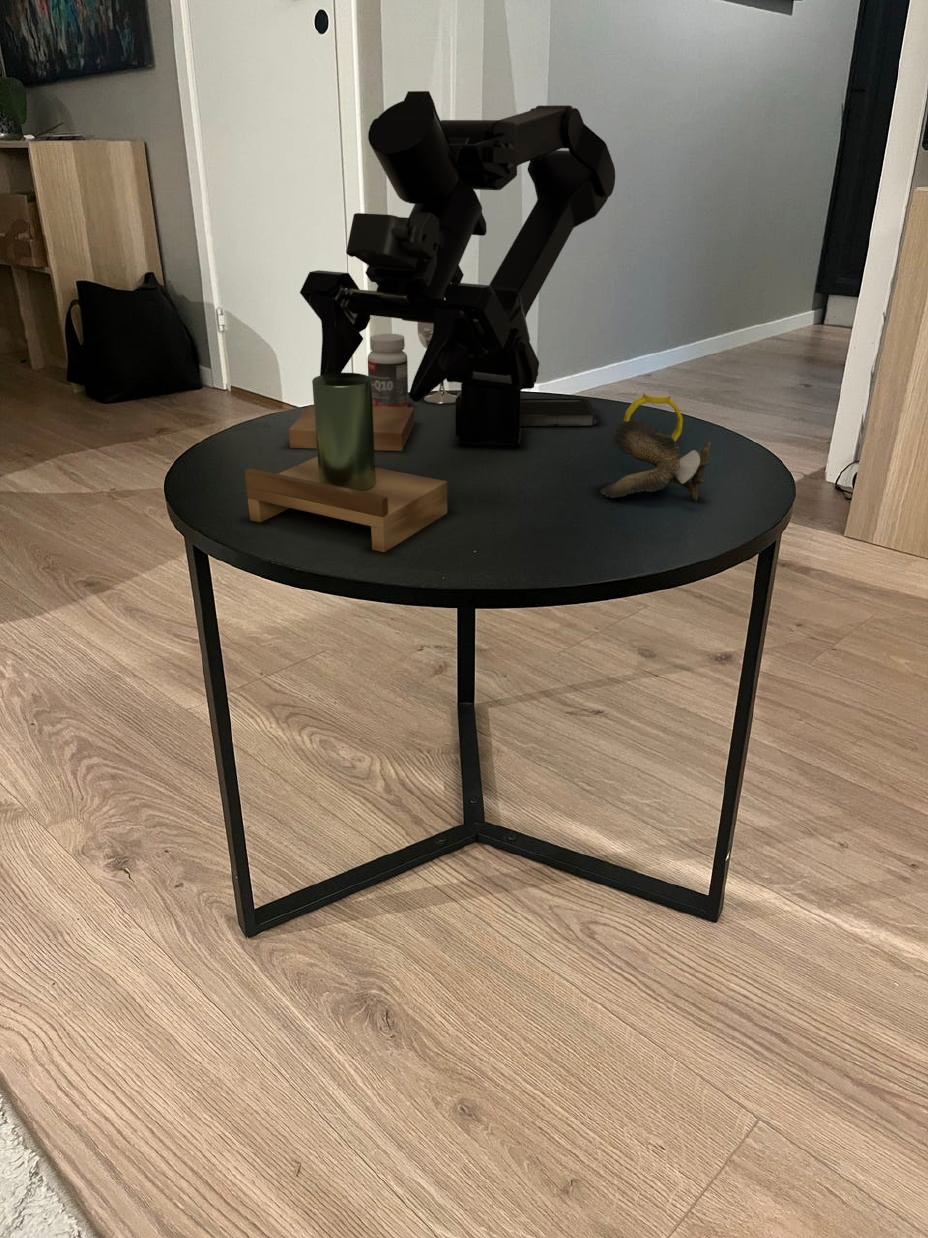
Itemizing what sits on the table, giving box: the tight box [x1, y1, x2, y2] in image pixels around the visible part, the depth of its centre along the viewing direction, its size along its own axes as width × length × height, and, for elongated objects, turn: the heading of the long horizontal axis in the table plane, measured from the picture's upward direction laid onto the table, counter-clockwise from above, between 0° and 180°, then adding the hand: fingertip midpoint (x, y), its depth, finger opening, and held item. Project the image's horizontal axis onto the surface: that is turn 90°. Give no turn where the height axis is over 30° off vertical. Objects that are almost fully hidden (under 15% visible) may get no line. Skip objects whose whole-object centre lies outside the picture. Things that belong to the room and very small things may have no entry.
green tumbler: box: [311, 372, 376, 491], centre depth 80 cm, size 5×5×9 cm
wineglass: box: [417, 298, 457, 405], centre depth 116 cm, size 6×6×12 cm
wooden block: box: [288, 404, 415, 452], centre depth 104 cm, size 12×10×2 cm
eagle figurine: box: [599, 419, 712, 502], centre depth 87 cm, size 8×7×9 cm
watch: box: [622, 390, 684, 443], centre depth 99 cm, size 6×3×6 cm, turn 89°
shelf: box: [244, 456, 448, 553], centre depth 82 cm, size 10×14×4 cm
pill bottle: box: [367, 333, 409, 407], centre depth 113 cm, size 5×5×8 cm
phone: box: [520, 397, 598, 427], centre depth 111 cm, size 8×1×15 cm
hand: (367, 392), depth 81 cm, fingers open, 9 cm apart
